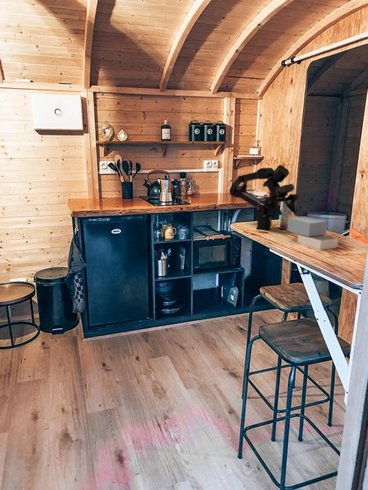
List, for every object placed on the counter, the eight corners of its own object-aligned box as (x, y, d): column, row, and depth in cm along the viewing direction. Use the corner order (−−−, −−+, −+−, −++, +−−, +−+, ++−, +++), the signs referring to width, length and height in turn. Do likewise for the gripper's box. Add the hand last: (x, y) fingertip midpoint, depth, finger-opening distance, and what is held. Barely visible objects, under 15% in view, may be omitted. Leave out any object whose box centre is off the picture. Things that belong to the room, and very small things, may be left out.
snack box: (290, 229, 204) (293, 201, 200) (279, 228, 205) (282, 200, 201) (288, 221, 224) (291, 195, 220) (278, 221, 225) (280, 195, 221)
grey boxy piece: (279, 228, 185) (280, 215, 183) (296, 226, 190) (297, 214, 189) (308, 236, 170) (310, 222, 168) (325, 234, 175) (327, 220, 174)
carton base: (297, 242, 176) (298, 234, 175) (314, 240, 181) (315, 232, 180) (319, 249, 165) (321, 240, 164) (337, 247, 171) (338, 238, 170)
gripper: (269, 178, 182) (283, 205, 176) (297, 177, 191) (312, 203, 185) (257, 192, 191) (270, 219, 184) (284, 191, 200) (298, 216, 194)
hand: (288, 214), depth 187 cm, fingers open, 9 cm apart
